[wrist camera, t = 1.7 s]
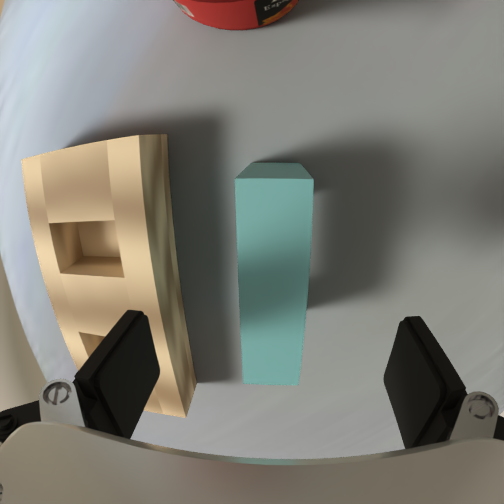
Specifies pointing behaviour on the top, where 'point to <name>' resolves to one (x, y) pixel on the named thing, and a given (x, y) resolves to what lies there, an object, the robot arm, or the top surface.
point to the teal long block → (273, 269)
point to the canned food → (236, 12)
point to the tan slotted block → (112, 251)
